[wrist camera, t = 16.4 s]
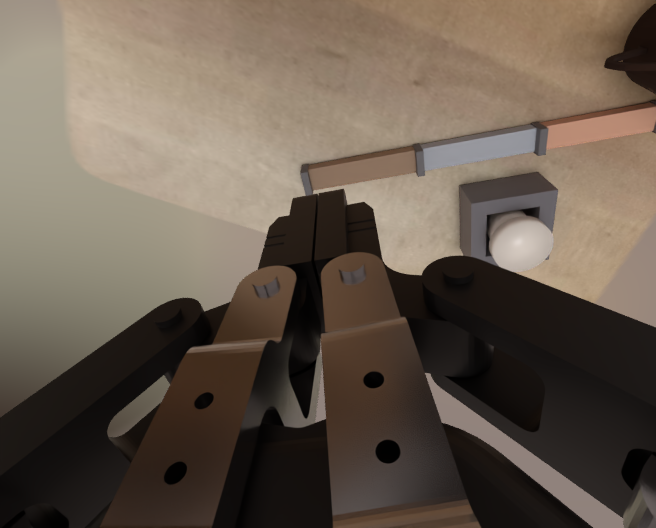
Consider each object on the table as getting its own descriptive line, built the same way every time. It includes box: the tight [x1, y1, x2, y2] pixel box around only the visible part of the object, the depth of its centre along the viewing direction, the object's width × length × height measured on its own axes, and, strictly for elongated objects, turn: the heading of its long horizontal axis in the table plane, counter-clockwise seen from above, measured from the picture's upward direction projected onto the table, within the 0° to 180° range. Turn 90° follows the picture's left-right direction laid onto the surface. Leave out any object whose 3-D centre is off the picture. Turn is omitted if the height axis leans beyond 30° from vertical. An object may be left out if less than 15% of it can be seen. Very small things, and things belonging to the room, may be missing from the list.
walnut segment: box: [301, 146, 416, 196], centre depth 35 cm, size 2×10×2 cm, turn 101°
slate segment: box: [413, 124, 537, 177], centre depth 34 cm, size 2×10×2 cm, turn 101°
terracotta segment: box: [531, 100, 656, 156], centre depth 33 cm, size 2×10×2 cm, turn 101°
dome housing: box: [459, 172, 558, 266], centre depth 37 cm, size 7×7×4 cm
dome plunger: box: [486, 209, 554, 272], centre depth 36 cm, size 5×5×6 cm
